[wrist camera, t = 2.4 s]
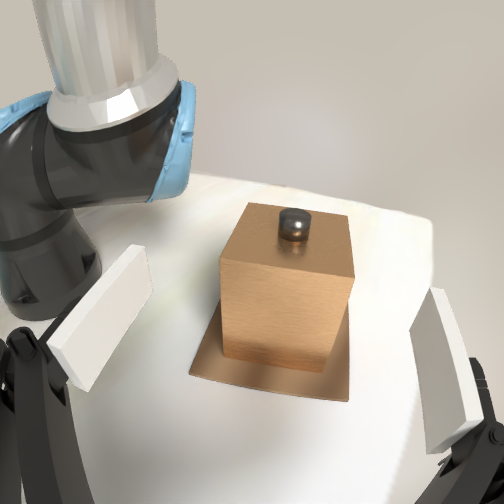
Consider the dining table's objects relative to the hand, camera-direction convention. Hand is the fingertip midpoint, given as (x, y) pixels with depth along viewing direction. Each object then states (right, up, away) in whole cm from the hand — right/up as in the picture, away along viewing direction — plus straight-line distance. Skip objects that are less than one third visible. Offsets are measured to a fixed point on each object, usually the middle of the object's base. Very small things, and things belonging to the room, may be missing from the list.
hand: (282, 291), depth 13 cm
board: (+1, -6, +16) cm, 18 cm away
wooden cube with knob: (+1, -6, +16) cm, 17 cm away
